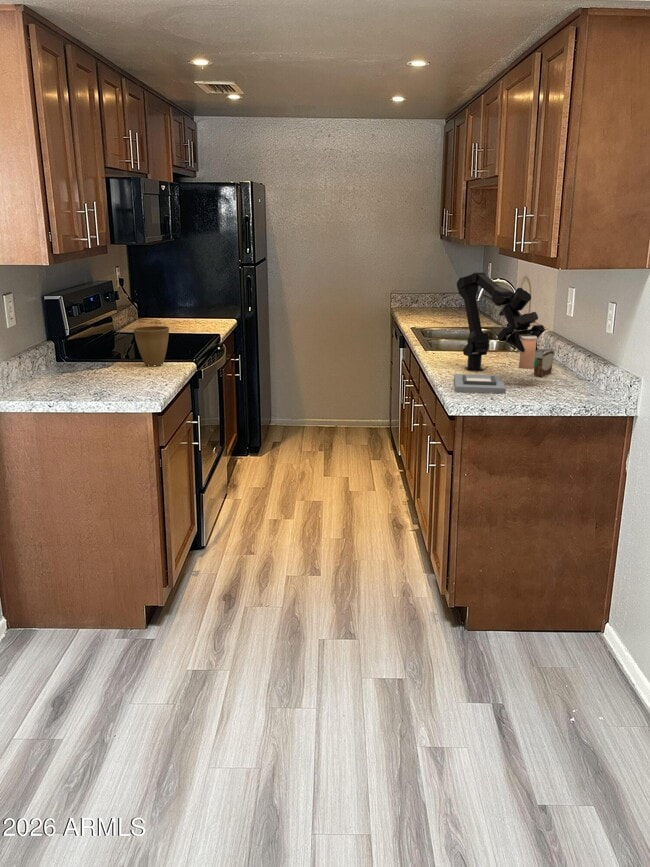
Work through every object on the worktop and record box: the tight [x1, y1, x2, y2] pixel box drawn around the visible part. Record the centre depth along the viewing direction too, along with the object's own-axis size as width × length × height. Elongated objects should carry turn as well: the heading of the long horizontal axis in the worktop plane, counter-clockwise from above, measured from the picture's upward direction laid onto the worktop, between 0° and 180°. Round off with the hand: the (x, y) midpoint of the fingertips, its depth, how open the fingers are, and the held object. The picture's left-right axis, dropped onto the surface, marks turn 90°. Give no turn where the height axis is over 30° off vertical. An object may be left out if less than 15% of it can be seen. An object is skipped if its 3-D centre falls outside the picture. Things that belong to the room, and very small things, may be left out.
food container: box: [533, 348, 555, 378], centre depth 304 cm, size 12×6×10 cm, turn 141°
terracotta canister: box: [518, 335, 538, 370], centre depth 282 cm, size 6×6×12 cm
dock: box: [453, 373, 507, 394], centre depth 284 cm, size 24×18×3 cm
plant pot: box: [133, 325, 170, 367], centre depth 319 cm, size 15×15×16 cm
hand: (530, 351), depth 281 cm, fingers closed on terracotta canister, 6 cm apart
